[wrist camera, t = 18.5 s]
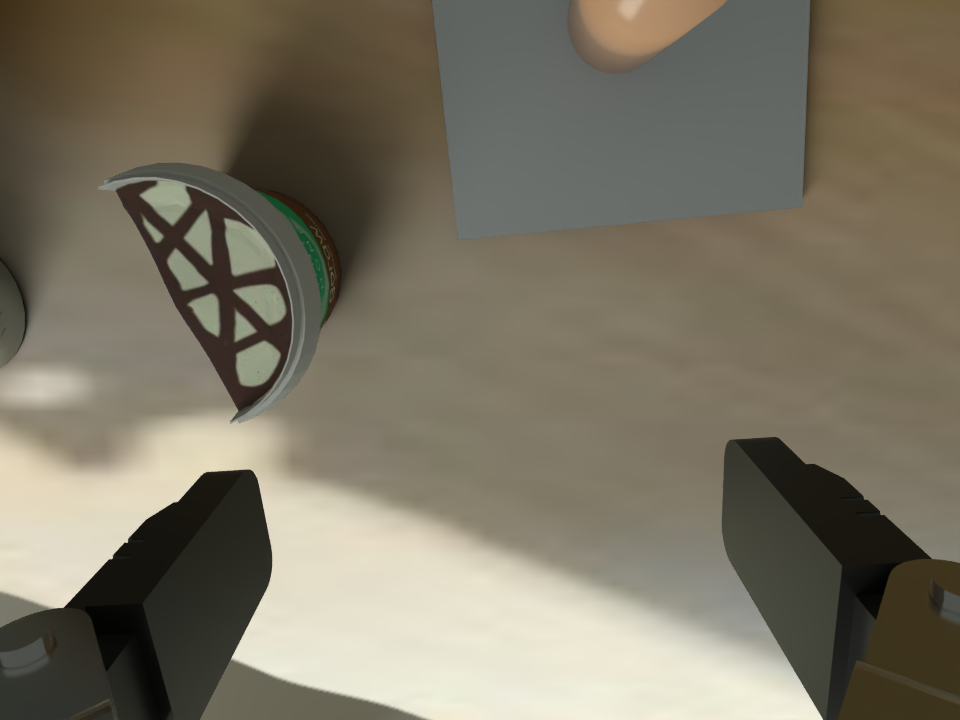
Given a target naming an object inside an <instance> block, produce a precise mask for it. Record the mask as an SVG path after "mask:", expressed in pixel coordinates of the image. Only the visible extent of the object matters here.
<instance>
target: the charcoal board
mask: <svg viewBox="0 0 960 720" xmlns="http://www.w3.org/2000/svg"><path fill="white" fill-rule="evenodd" d="M570 1H571V0H432V6H433V15H434V24H435V33H436V43H437V52H438V61H439V70H440V79H441V88H442V97H443V106H444V116H445V125H446V134H447V143H448V152H449V161H450V170H451V179H452V189H453V198H454V207H455V216H456V225H457V234H458V240H462V239H473V238H483V237H494V236H504V235H515V234H525V233H536V232H546V231H557V230H567V229H578V228H588V227H599V226H609V225H620V224H630V223H641V222H651V221H662V220H672V219H683V218H693V217H704V216H714V215H725V214H735V213H746V212H756V211H767V210H777V209H787V208H798V207H802V201H803V176H804V150H805V125H806V99H807V74H808V49H809V23H810V0H727V1H726V2H725V3H724V4H723V5H722V6H721V7H720V8H718V9H717V10H716V11H715V12H714V13H712V14H711V15H710V16H708V17H707V18H706V19H704V20H703V21H702V22H700V23H699V24H698V25H696V26H695V27H694V28H692V29H691V30H690V31H688V32H687V33H686V34H684V35H683V36H682V37H680V38H679V39H678V40H676V41H675V42H674V43H672V44H671V45H670V46H669V47H667V48H666V49H665V50H663V51H662V52H661V53H659V54H658V55H657V56H655V57H654V58H653V59H651V60H650V61H649V62H647V63H646V64H644V65H643V66H641V67H640V68H637V69H635V70H633V71H630V72H626V73H620V74H612V73H605V72H601V71H599V70H596V69H594V68H593V67H591V66H589V65H588V64H587V63H586V62H584V61H583V60H582V59H581V57H580V56H579V55H578V54H577V52H576V51H575V49H574V47H573V45H572V42H571V40H570V36H569V32H568V9H569V5H570Z"/></svg>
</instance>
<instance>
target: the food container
mask: <svg viewBox="0 0 960 720" xmlns="http://www.w3.org/2000/svg"><path fill="white" fill-rule="evenodd" d="M104 182H105V185H103V186H100V187H98V189H101V190H112V191H116V192H117V194H118V196H119V198H120V199H121V202H122V204H123V206H124V208H125V209H126V211H127V212H128V213H129V215H130V216H131V218H132V220H133V221H134V223H135V224H136V226H137V228H138V230H139V232H140V234H141V235H142V237H143V239H144V241H145V243H146V245H147V247H148V248H149V250H150V252H151V254H152V257H153V259H154V261H155V263H156V265H157V267H158V269H159V272H160V274H161V276H162V278H163V281H164V283H165V285H166V287H167V289H168V291H169V293H170V295H171V297H172V299H173V302H174V304H175V306H176V308H177V309H178V311H179V312H180V314H181V316H182V317H183V319H184V320H185V322H186V323H187V325H188V326H189V328H190V329H191V331H192V332H193V334H194V335H195V337H196V338H197V340H198V341H199V343H200V344H201V346H202V347H203V349H204V350H205V352H206V354H207V355H208V357H209V358H210V360H211V362H212V364H213V365H214V367H215V369H216V371H217V373H218V374H219V376H220V378H221V380H222V382H223V383H224V385H225V387H226V389H227V391H228V392H229V394H230V396H231V398H232V400H233V401H234V403H235V405H236V407H237V409H238V412H237V414H236V415H235V416H234V418H233V419H232V420H231V421H230V424H231V423H233V422H235V421H237V420H238V422H239V423H241V422H244V421H246V420H249V419H251V418H253V417H255V416H257V415H259V414H261V413H263V412H265V411H267V410H269V409H270V408H272V407H273V406H275V405H276V404H277V403H279V402H280V401H281V400H283V399H284V398H285V397H286V396H287V395H288V394H289V393H290V392H291V391H292V390H293V389H294V387H295V386H296V385H297V384H298V383H299V381H300V380H301V378H302V377H303V375H304V374H305V372H306V371H307V369H308V367H309V364H310V362H311V360H312V358H313V355H314V353H315V350H316V346H317V342H318V338H319V334H320V329H321V328H322V327H323V325H324V324H325V322H326V321H327V320H328V318H329V316H330V314H331V312H332V309H333V307H334V305H335V303H336V301H337V299H338V296H339V287H340V278H341V268H340V263H339V257H338V252H337V249H336V247H335V244H334V242H333V239H332V238H331V236H330V234H329V232H328V231H327V229H326V227H325V226H324V225H323V224H322V222H321V221H320V220H319V219H318V217H316V216H315V215H314V214H313V213H312V212H311V211H310V210H309V209H308V208H307V207H305V206H304V205H302V204H301V203H299V202H298V201H296V200H294V199H292V198H290V197H288V196H286V195H284V194H280V193H277V192H274V191H270V190H263V189H256V188H250V187H249V186H247V185H246V184H245V183H243V182H241V181H239V180H237V179H235V178H233V177H231V176H229V175H226V174H224V173H222V172H219V171H216V170H212V169H209V168H206V167H203V166H197V165H191V164H184V163H157V164H152V165H147V166H141V167H137V168H134V169H132V170H129V171H126V172H124V173H121V174H119V175H116V176H114V177H112V178H109V179H107V180H105V181H104Z"/></svg>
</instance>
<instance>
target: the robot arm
mask: <svg viewBox="0 0 960 720" xmlns="http://www.w3.org/2000/svg"><path fill="white" fill-rule="evenodd" d="M24 330H25V311H24V306H23V301H22V297H21V294H20V292H19V289H18V287H17V285H16V282H15V280H14V279H13V277H12V276H11V274H10V272H9V271H8V269H7V268H6V266H5V265H4V264H3V263H2V262H1V261H0V368H1V367H2V366H4V365H6V364H7V363H8V362H9V360H10V359H11V358H12V357H13V356H14V355H15V354H16V352H17V350H18V348H19V346H20V344H21V342H22V338H23V334H24ZM722 534H723V541H724V545H725V549H726V553H727V556H728V558H729V560H730V562H731V564H732V566H733V568H734V569H735V571H736V573H737V574H738V576H739V578H740V579H741V581H742V583H743V584H744V586H745V588H746V590H747V591H748V593H749V595H750V596H751V598H752V600H753V601H754V603H755V605H756V606H757V608H758V610H759V612H760V613H761V615H762V617H763V618H764V620H765V622H766V623H767V625H768V627H769V628H770V630H771V632H772V634H773V635H774V637H775V639H776V640H777V642H778V644H779V645H780V647H781V649H782V650H783V652H784V654H785V656H786V657H787V659H788V661H789V662H790V664H791V666H792V667H793V669H794V671H795V672H796V674H797V676H798V678H799V679H800V681H801V683H802V684H803V686H804V688H805V689H806V691H807V693H808V694H809V696H810V698H811V700H812V701H813V703H814V705H815V706H816V708H817V710H818V711H819V713H820V715H821V716H822V718H823V720H960V563H957V562H952V561H946V560H937V559H932V558H931V557H929V556H928V555H927V554H926V553H925V552H924V551H923V550H922V549H921V548H920V547H919V546H917V545H916V544H915V543H914V542H913V541H912V540H911V539H910V538H909V537H908V536H906V535H905V534H904V533H903V532H902V531H901V530H900V529H899V528H898V527H897V526H896V525H894V524H893V523H892V522H891V521H890V520H889V519H888V518H887V517H886V516H885V515H880V511H879V510H878V509H877V508H876V507H875V506H874V505H873V504H872V503H870V502H869V501H868V500H864V497H863V495H862V494H861V493H859V492H858V491H857V490H856V489H855V488H854V487H853V486H852V485H851V484H850V483H849V482H847V481H846V480H845V479H844V478H842V477H840V476H838V475H836V474H834V473H832V472H830V471H828V470H826V469H824V468H822V467H820V466H818V465H816V464H805V463H804V462H803V461H802V460H801V459H800V458H799V457H798V456H797V455H796V454H795V453H794V452H793V451H792V450H791V449H790V448H788V447H787V446H786V445H785V444H784V443H783V442H782V441H781V440H780V439H779V438H777V437H768V438H752V439H736V440H730V441H729V442H728V443H727V445H726V449H725V456H724V480H723V506H722ZM271 571H272V550H271V544H270V539H269V534H268V529H267V524H266V519H265V514H264V509H263V504H262V499H261V494H260V489H259V484H258V480H257V477H256V475H255V474H254V472H253V471H252V470H234V471H218V472H206V473H204V474H203V475H202V476H201V477H200V478H199V479H198V480H197V481H196V482H195V483H194V485H193V486H192V487H191V488H190V489H189V490H188V491H187V492H186V494H185V495H184V496H183V497H182V498H181V499H180V500H179V501H178V502H175V503H172V504H171V505H169V506H167V507H166V508H164V509H163V510H161V511H159V512H158V513H156V514H155V515H153V516H151V517H150V518H148V519H147V520H145V522H144V523H143V524H142V525H141V526H140V527H139V528H138V529H137V530H136V531H135V532H134V533H133V534H132V535H131V536H130V538H129V539H128V543H124V544H123V545H122V546H121V547H120V548H119V549H118V550H117V551H116V553H115V554H114V555H113V559H109V560H108V561H107V562H106V563H105V564H104V565H103V566H102V567H101V569H100V570H99V571H98V572H97V573H96V574H95V575H94V576H93V577H92V578H91V579H90V580H89V581H88V582H87V584H86V585H85V586H84V587H83V588H82V589H81V590H80V591H79V592H78V593H77V594H76V595H75V596H74V597H73V598H72V600H71V601H70V602H69V603H68V604H67V605H66V606H65V607H64V608H56V609H50V610H45V611H41V612H37V613H34V614H31V615H28V616H25V617H22V618H20V619H18V620H15V621H13V622H11V623H9V624H7V625H5V626H3V627H1V628H0V720H200V718H201V716H202V714H203V712H204V710H205V708H206V706H207V705H208V702H209V701H210V698H211V697H212V695H213V693H214V691H215V689H216V687H217V685H218V683H219V681H220V679H221V677H222V675H223V673H224V671H225V669H226V667H227V665H228V663H229V661H230V660H231V658H232V656H233V654H234V652H235V650H236V648H237V646H238V644H239V642H240V640H241V638H242V636H243V634H244V632H245V630H246V628H247V626H248V624H249V622H250V620H251V618H252V616H253V614H254V613H255V611H256V609H257V607H258V605H259V603H260V601H261V599H262V597H263V595H264V593H265V591H266V589H267V587H268V584H269V581H270V577H271Z"/></svg>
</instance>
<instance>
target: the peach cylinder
mask: <svg viewBox="0 0 960 720" xmlns="http://www.w3.org/2000/svg"><path fill="white" fill-rule="evenodd" d="M726 1H727V0H571V1H570V5H569V9H568V32H569V36H570V40H571V42H572V45H573V47H574V49H575V51H576V52H577V54H578V55H579V56H580V57H581V59H582V60H583V61H584V62H586V63H587V64H588V65H589V66H591V67H593V68H594V69H596V70H599V71H601V72H605V73H612V74H620V73H626V72H630V71H633V70H635V69H637V68H640V67H641V66H643V65H644V64H646V63H647V62H649V61H650V60H651V59H653V58H654V57H655V56H657V55H658V54H659V53H661V52H662V51H663V50H665V49H666V48H667V47H669V46H670V45H671V44H672V43H674V42H675V41H676V40H678V39H679V38H680V37H682V36H683V35H684V34H686V33H687V32H688V31H690V30H691V29H692V28H694V27H695V26H696V25H698V24H699V23H700V22H702V21H703V20H704V19H706V18H707V17H708V16H710V15H711V14H712V13H714V12H715V11H716V10H717V9H718V8H720V7H721V6H722V5H723V4H724V3H725V2H726Z"/></svg>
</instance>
